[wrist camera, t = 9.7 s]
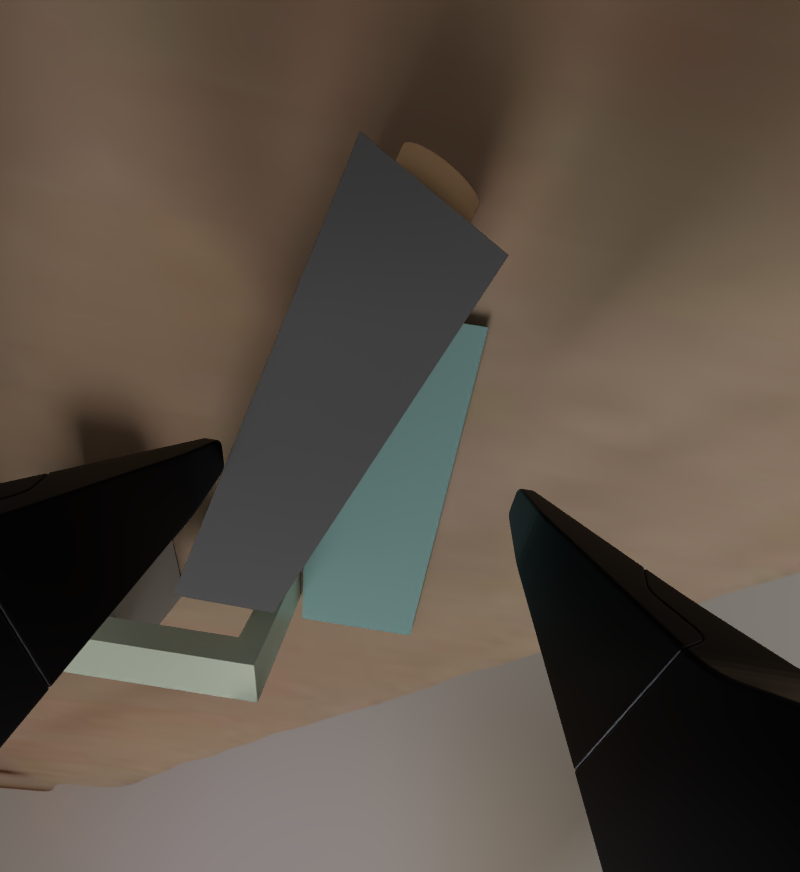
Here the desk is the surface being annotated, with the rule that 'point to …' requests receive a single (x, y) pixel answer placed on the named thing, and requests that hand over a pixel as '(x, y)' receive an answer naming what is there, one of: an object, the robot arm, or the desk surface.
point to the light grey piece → (190, 653)
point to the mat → (396, 506)
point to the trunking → (152, 591)
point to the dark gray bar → (342, 367)
